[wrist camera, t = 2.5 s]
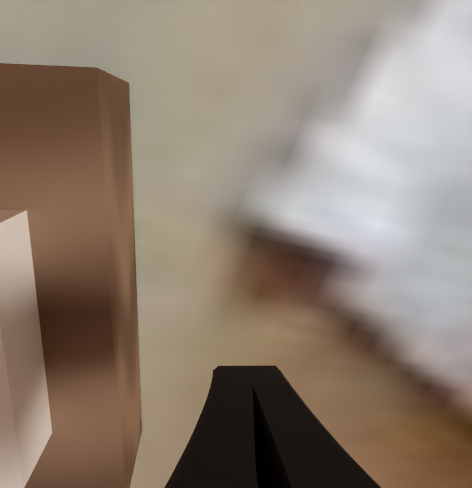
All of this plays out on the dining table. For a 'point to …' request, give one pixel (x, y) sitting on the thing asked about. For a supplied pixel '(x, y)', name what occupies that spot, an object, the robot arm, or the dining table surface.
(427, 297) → the dining table surface
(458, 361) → the dining table surface
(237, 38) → the dining table surface
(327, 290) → the dining table surface
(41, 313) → the riser
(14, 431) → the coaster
